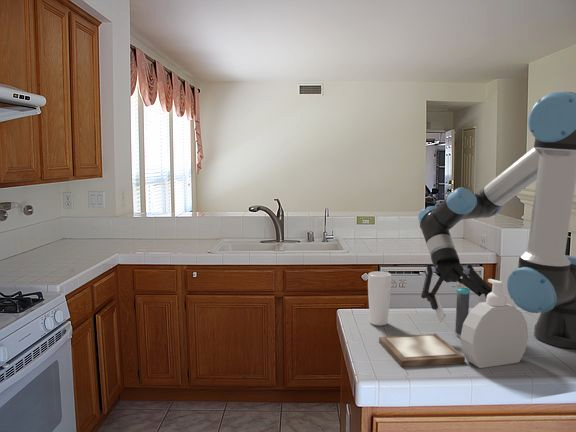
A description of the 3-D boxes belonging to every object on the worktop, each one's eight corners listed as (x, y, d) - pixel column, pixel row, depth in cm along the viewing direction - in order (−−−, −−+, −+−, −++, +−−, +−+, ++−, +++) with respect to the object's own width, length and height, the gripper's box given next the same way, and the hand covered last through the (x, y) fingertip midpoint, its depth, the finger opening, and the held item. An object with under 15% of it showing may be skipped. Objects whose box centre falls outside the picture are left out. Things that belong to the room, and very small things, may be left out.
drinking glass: (390, 327, 149) (391, 277, 147) (366, 326, 150) (367, 275, 148) (390, 320, 155) (391, 271, 153) (367, 318, 157) (368, 270, 155)
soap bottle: (511, 353, 130) (516, 276, 127) (527, 361, 125) (532, 281, 122) (457, 361, 125) (461, 281, 123) (471, 370, 120) (475, 286, 118)
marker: (463, 334, 144) (466, 287, 142) (469, 338, 141) (471, 290, 139) (453, 334, 143) (455, 287, 142) (458, 338, 140) (460, 291, 138)
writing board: (435, 339, 140) (435, 333, 139) (464, 362, 124) (464, 356, 124) (378, 342, 137) (379, 336, 137) (401, 366, 121) (401, 360, 121)
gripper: (477, 259, 157) (502, 322, 144) (399, 261, 153) (417, 326, 140) (487, 245, 151) (514, 309, 138) (406, 247, 147) (426, 314, 134)
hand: (465, 318), depth 139 cm, fingers open, 13 cm apart
